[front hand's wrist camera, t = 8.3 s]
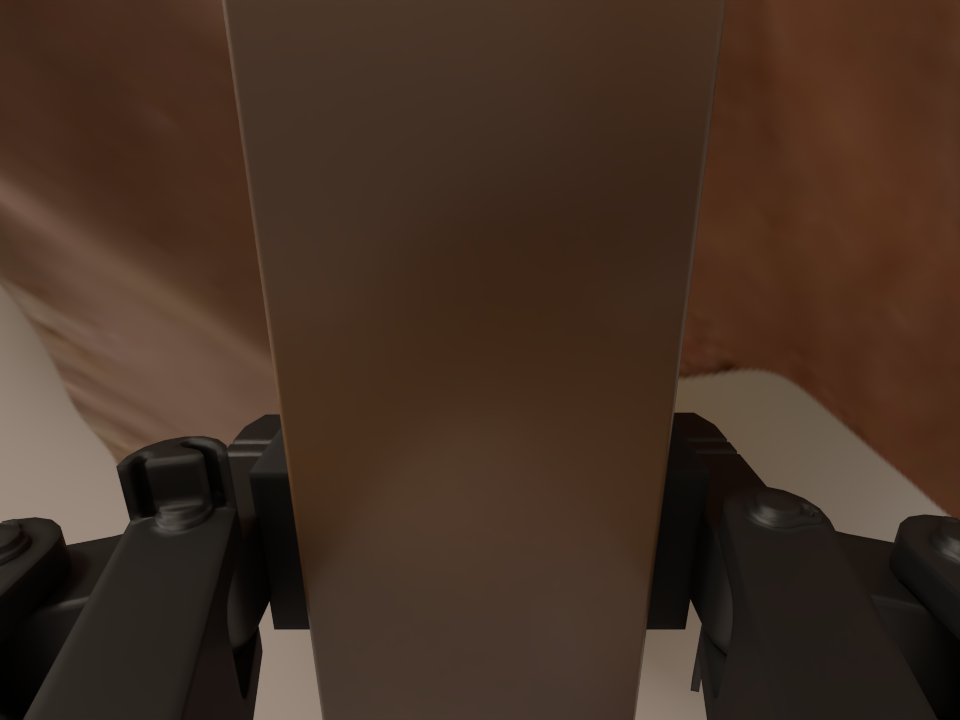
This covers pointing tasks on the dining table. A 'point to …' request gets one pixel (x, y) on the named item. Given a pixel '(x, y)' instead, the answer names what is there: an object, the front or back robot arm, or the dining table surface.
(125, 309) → the dining table surface
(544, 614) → the bar
